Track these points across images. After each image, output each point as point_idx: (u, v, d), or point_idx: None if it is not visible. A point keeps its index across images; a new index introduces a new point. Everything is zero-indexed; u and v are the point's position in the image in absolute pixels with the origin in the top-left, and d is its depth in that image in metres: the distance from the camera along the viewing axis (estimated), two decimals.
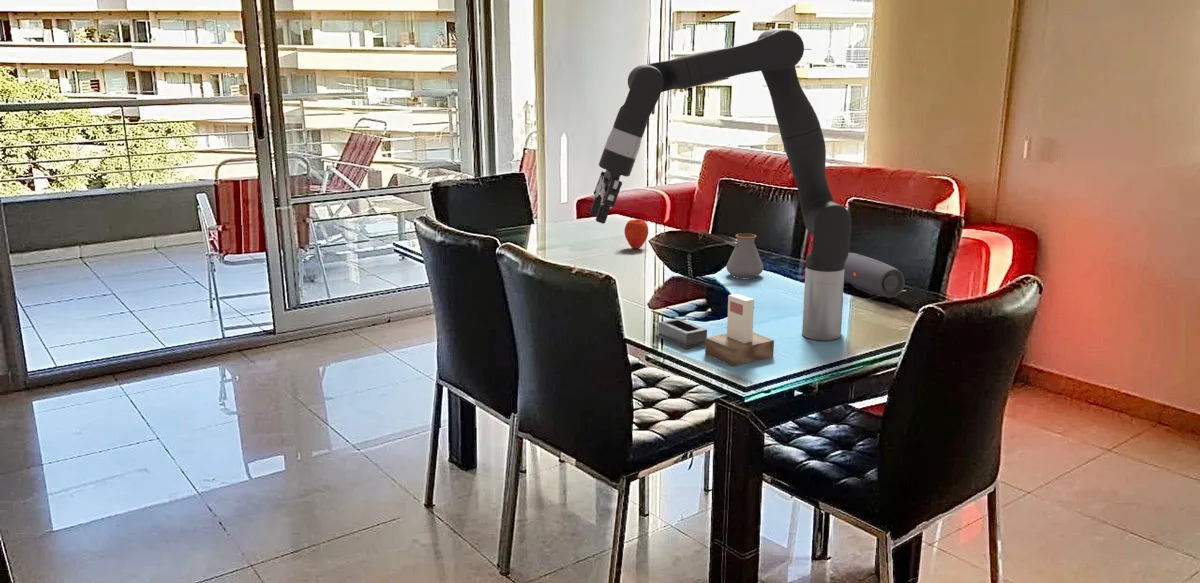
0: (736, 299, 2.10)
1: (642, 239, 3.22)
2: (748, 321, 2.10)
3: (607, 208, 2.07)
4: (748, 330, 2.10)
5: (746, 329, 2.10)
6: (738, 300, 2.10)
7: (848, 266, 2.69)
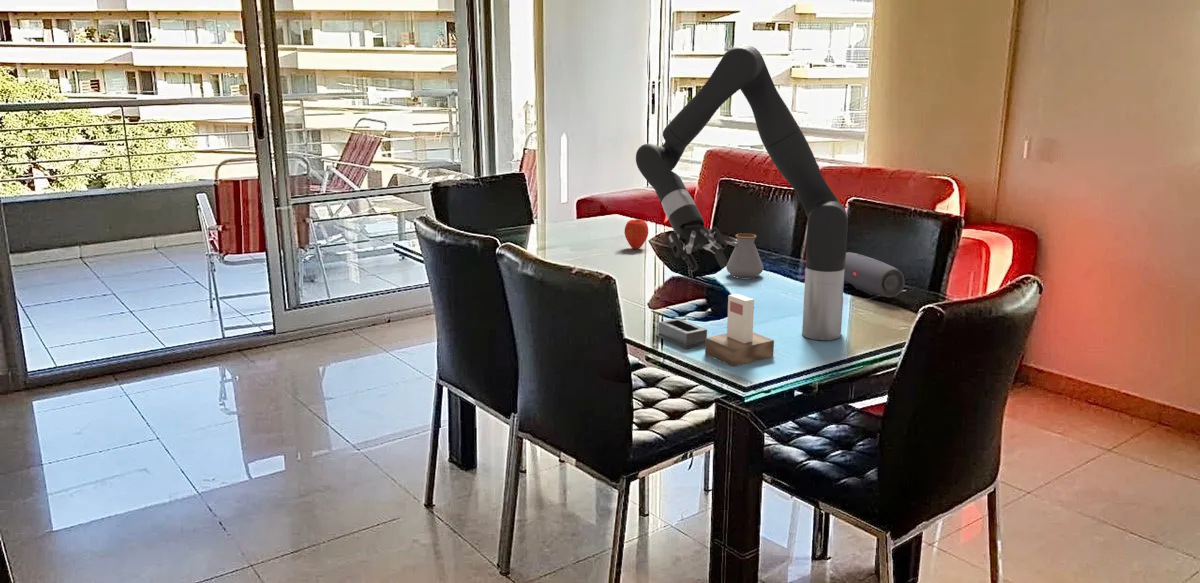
0: (736, 299, 2.10)
1: (642, 239, 3.22)
2: (748, 321, 2.10)
3: (686, 256, 2.18)
4: (748, 330, 2.10)
5: (746, 329, 2.10)
6: (738, 300, 2.10)
7: (848, 266, 2.69)
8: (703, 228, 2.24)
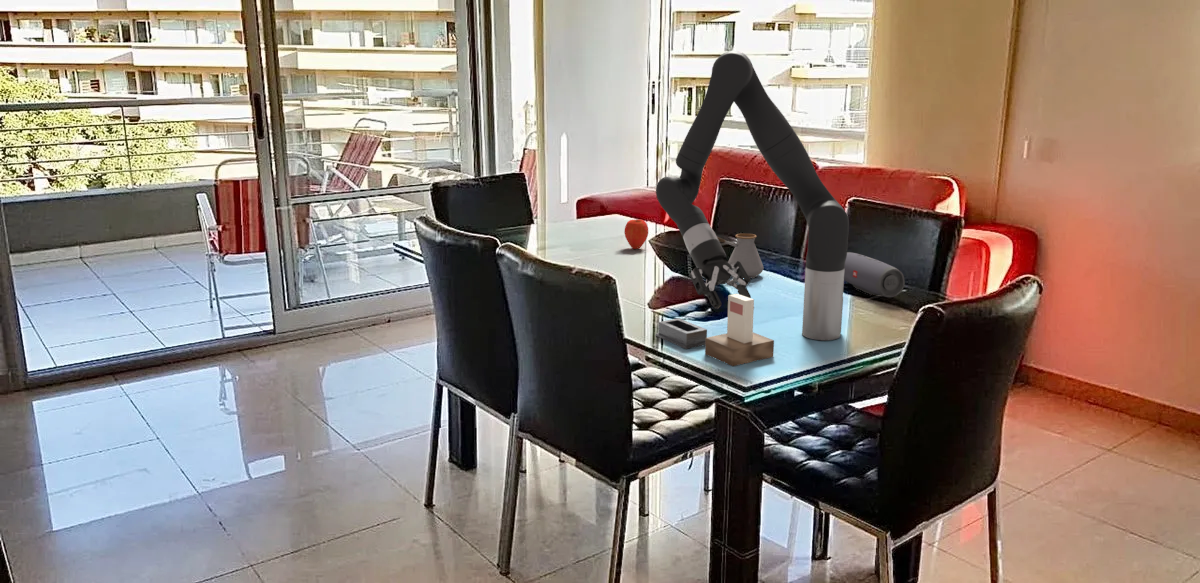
0: (736, 299, 2.10)
1: (642, 239, 3.22)
2: (748, 321, 2.10)
3: (708, 293, 2.12)
4: (748, 330, 2.10)
5: (746, 329, 2.10)
6: (738, 300, 2.10)
7: (848, 266, 2.69)
8: (726, 263, 2.18)
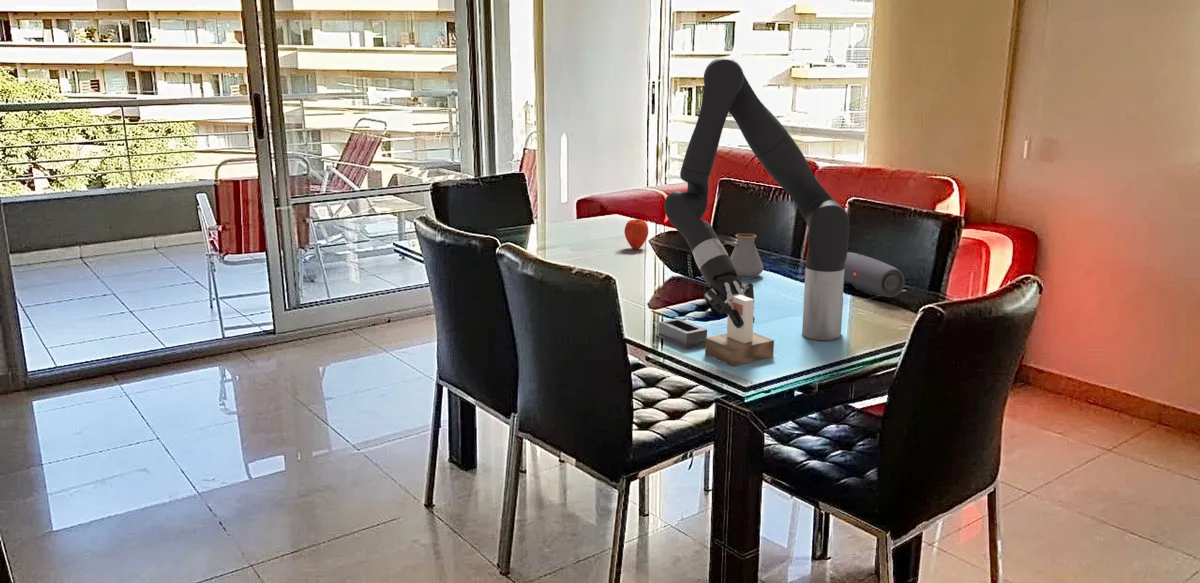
0: (736, 299, 2.10)
1: (642, 239, 3.22)
2: (748, 321, 2.10)
3: (730, 312, 2.11)
4: (748, 330, 2.10)
5: (746, 329, 2.10)
6: (738, 300, 2.10)
7: (848, 266, 2.69)
8: (737, 279, 2.16)
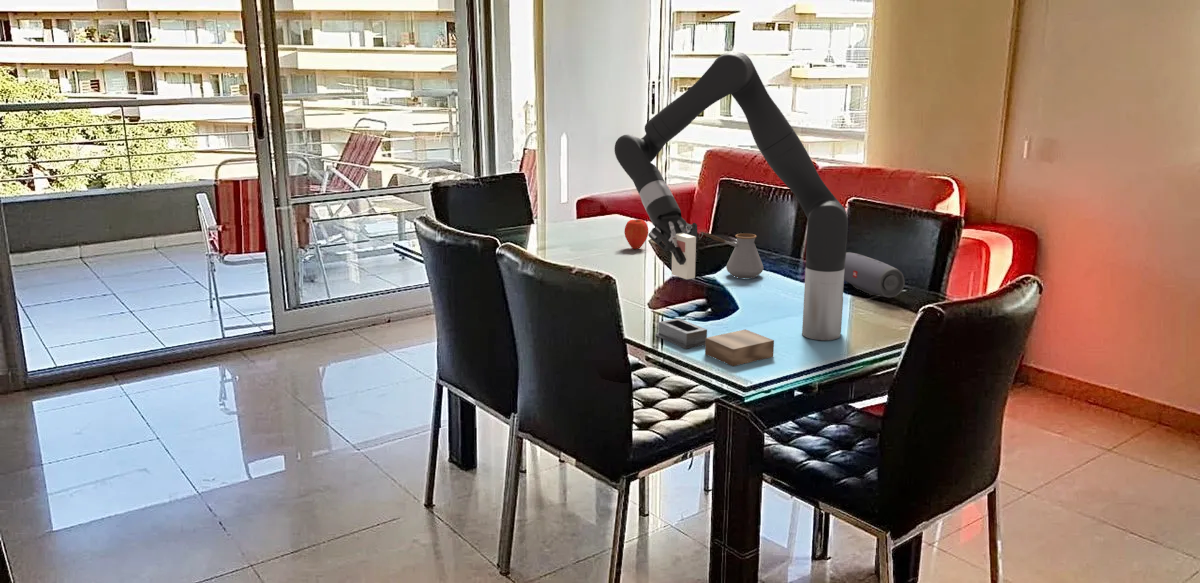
0: (679, 237, 2.19)
1: (642, 239, 3.22)
2: (690, 258, 2.18)
3: (674, 249, 2.19)
4: (690, 266, 2.19)
5: (689, 266, 2.18)
6: (681, 237, 2.18)
7: (848, 266, 2.69)
8: (682, 219, 2.24)
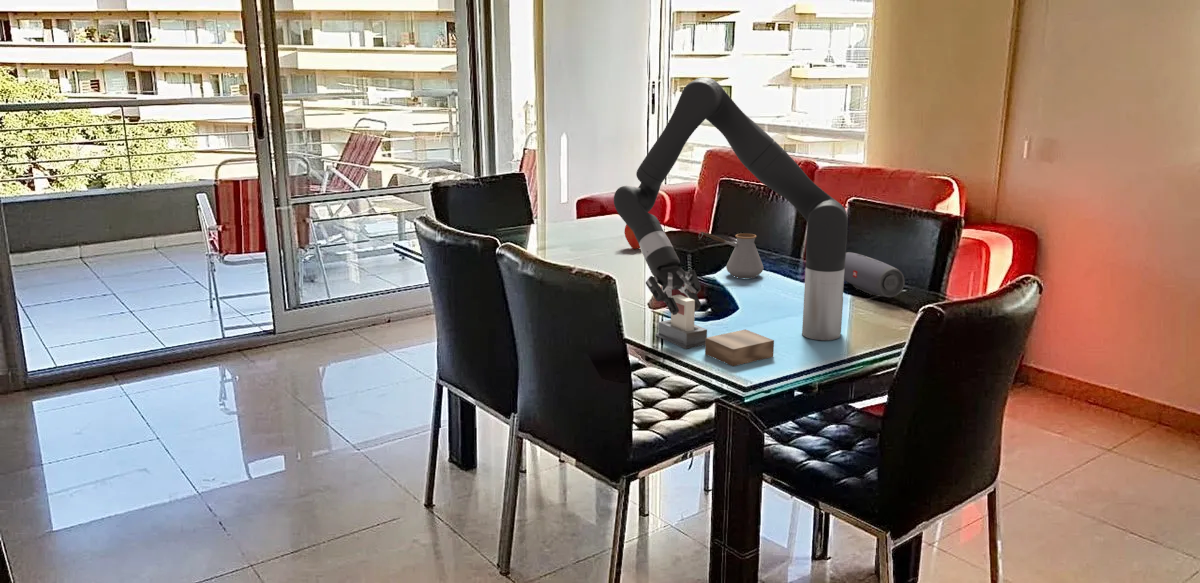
0: (678, 300, 2.23)
1: None
2: (689, 320, 2.22)
3: (667, 300, 2.22)
4: (689, 329, 2.23)
5: (688, 328, 2.22)
6: (680, 300, 2.22)
7: (848, 266, 2.69)
8: (680, 269, 2.28)
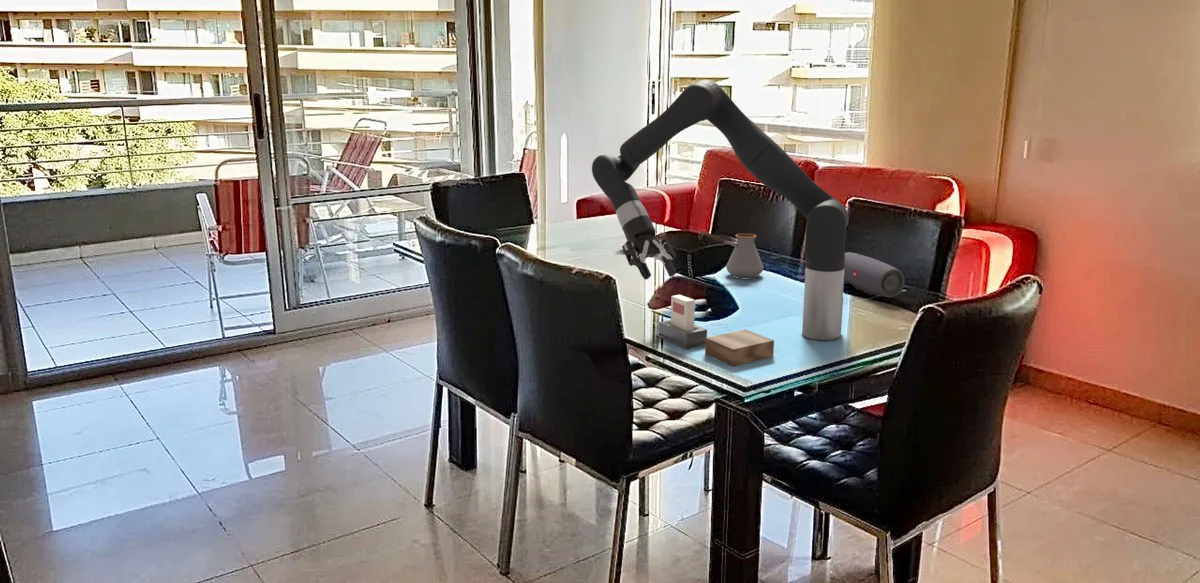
0: (678, 300, 2.23)
1: None
2: (689, 320, 2.22)
3: (639, 264, 2.29)
4: (689, 329, 2.23)
5: (688, 328, 2.22)
6: (680, 300, 2.22)
7: (848, 266, 2.69)
8: (655, 238, 2.36)
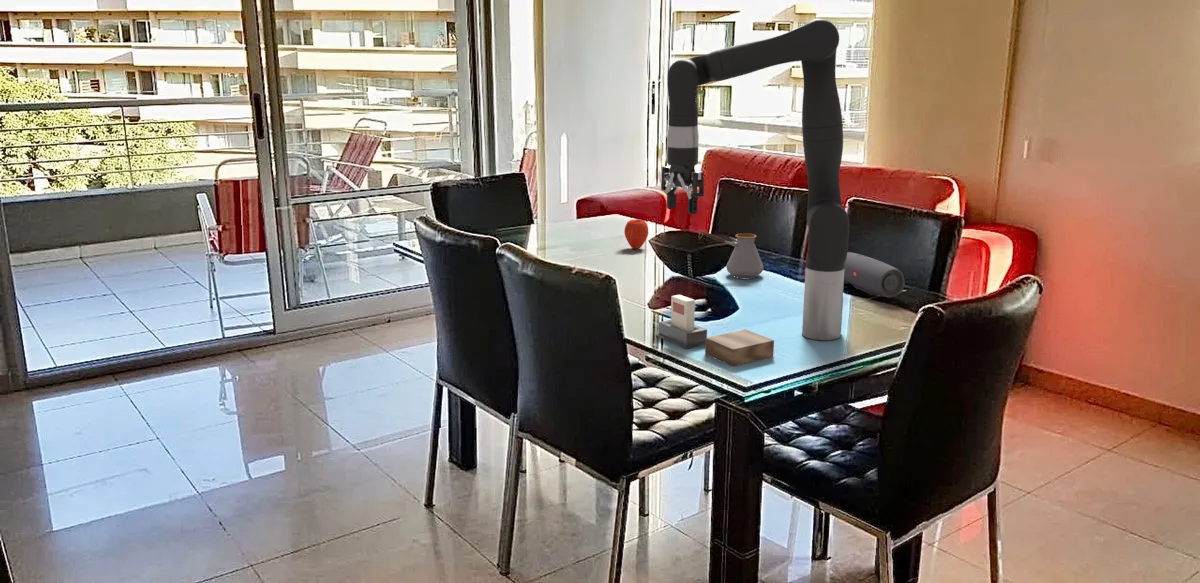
0: (678, 300, 2.23)
1: (642, 239, 3.22)
2: (689, 320, 2.22)
3: (696, 199, 2.22)
4: (689, 329, 2.23)
5: (688, 328, 2.22)
6: (680, 300, 2.22)
7: (848, 266, 2.69)
8: None
